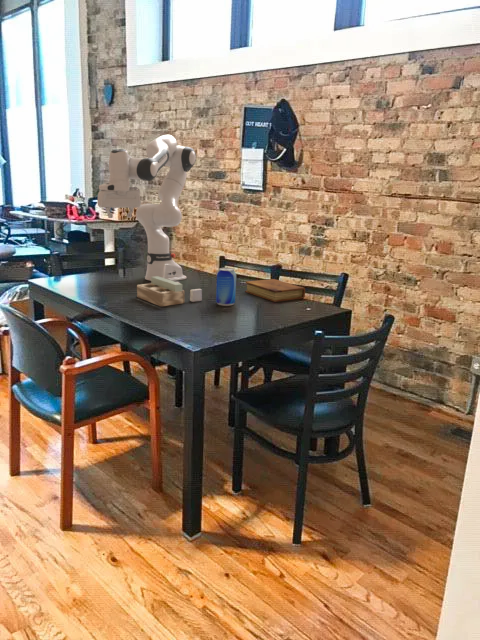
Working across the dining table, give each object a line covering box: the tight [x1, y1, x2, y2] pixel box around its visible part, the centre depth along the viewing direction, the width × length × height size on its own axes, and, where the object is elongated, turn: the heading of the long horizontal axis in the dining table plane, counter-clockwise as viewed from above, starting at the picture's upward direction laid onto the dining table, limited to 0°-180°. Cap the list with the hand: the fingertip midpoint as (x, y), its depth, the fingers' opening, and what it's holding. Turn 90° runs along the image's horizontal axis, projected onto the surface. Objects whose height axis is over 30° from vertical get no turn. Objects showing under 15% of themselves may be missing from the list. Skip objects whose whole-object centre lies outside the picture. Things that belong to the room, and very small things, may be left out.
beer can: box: [215, 267, 237, 307], centre depth 231 cm, size 8×8×16 cm
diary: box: [244, 278, 306, 303], centre depth 256 cm, size 23×19×6 cm
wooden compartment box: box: [136, 282, 186, 307], centre depth 233 cm, size 12×20×6 cm, turn 40°
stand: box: [176, 281, 203, 303], centre depth 242 cm, size 5×20×6 cm, turn 40°
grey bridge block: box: [150, 276, 183, 292], centre depth 235 cm, size 4×20×8 cm, turn 40°
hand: (119, 217), depth 241 cm, fingers open, 8 cm apart
